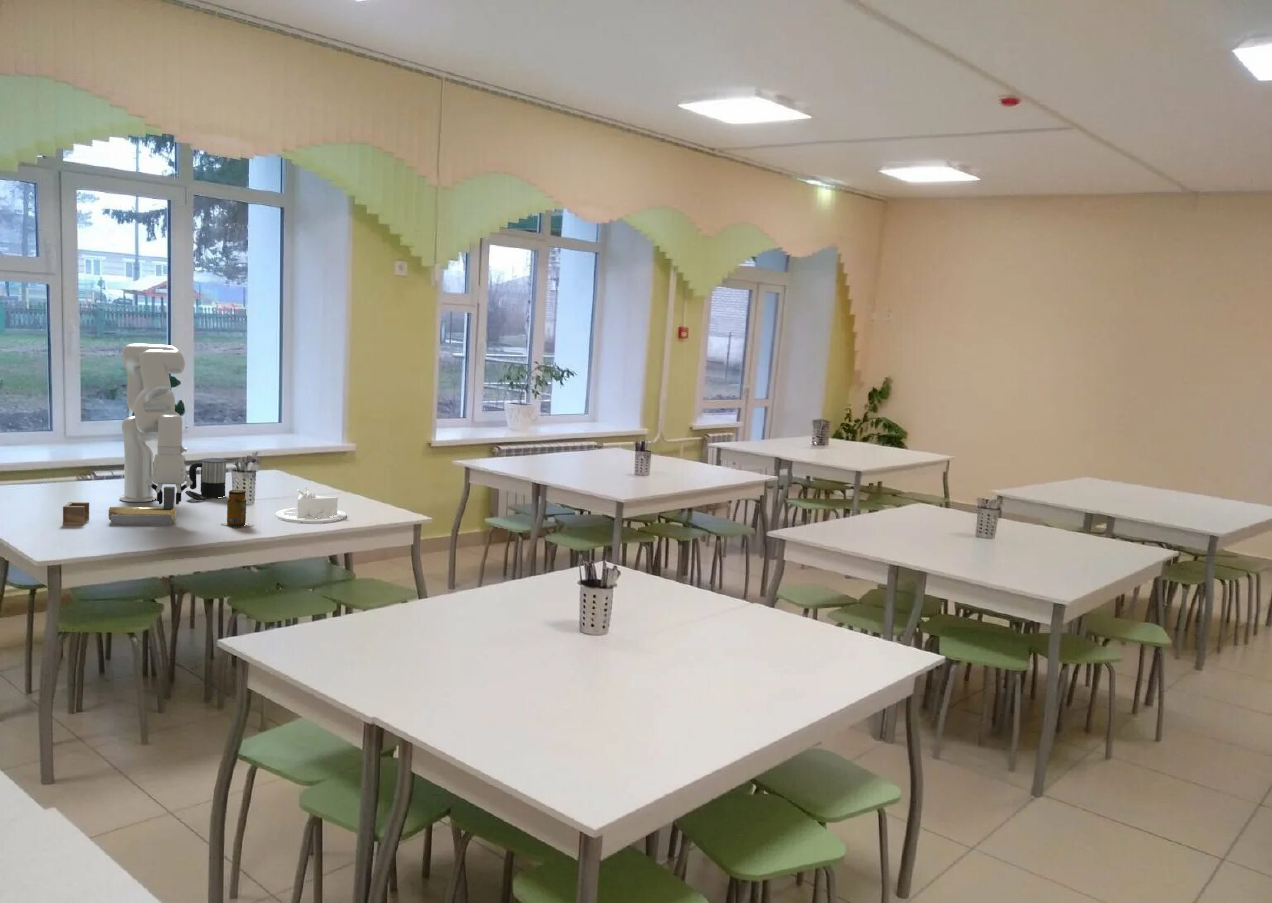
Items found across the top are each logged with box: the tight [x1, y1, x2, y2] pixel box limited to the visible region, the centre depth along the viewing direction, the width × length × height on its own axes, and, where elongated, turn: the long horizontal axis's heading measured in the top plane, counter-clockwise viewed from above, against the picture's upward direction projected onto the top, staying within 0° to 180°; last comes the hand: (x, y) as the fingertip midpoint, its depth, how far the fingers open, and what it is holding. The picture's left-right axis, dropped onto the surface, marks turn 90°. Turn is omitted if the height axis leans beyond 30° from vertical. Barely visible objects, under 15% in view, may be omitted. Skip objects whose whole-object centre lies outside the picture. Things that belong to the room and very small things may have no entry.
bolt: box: [108, 486, 177, 521], centre depth 325 cm, size 4×20×11 cm, turn 108°
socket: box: [62, 501, 90, 526], centre depth 319 cm, size 8×6×6 cm
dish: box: [274, 484, 347, 524], centre depth 354 cm, size 25×25×11 cm
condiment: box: [221, 489, 254, 529], centre depth 331 cm, size 7×8×12 cm
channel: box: [110, 514, 175, 526], centre depth 325 cm, size 8×18×3 cm, turn 108°
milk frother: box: [184, 457, 228, 501], centre depth 372 cm, size 14×16×15 cm
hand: (169, 503), depth 327 cm, fingers open, 4 cm apart
